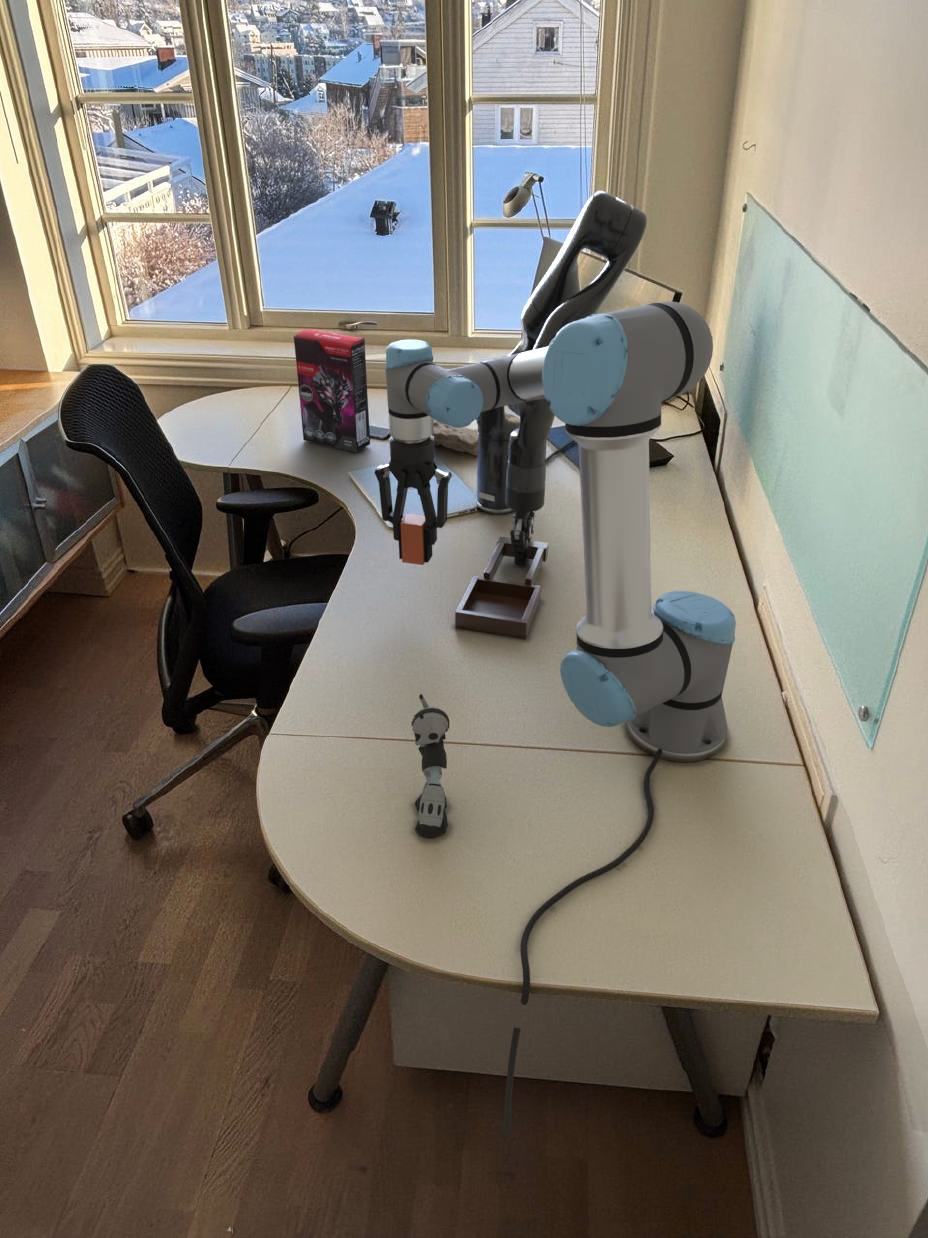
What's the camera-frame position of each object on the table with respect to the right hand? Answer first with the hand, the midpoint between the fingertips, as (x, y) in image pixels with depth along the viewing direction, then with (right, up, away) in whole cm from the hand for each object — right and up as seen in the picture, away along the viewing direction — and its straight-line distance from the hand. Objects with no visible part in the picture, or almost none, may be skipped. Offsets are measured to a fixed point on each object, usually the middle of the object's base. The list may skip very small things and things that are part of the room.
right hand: (416, 556), depth 168 cm
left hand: (+20, 0, +18) cm, 27 cm away
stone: (+4, +33, +67) cm, 75 cm away
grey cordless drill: (+4, -39, -40) cm, 56 cm away
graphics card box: (-24, +33, +67) cm, 78 cm away
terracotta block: (0, 0, 0) cm, 0 cm away
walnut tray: (+17, -7, +8) cm, 20 cm away
